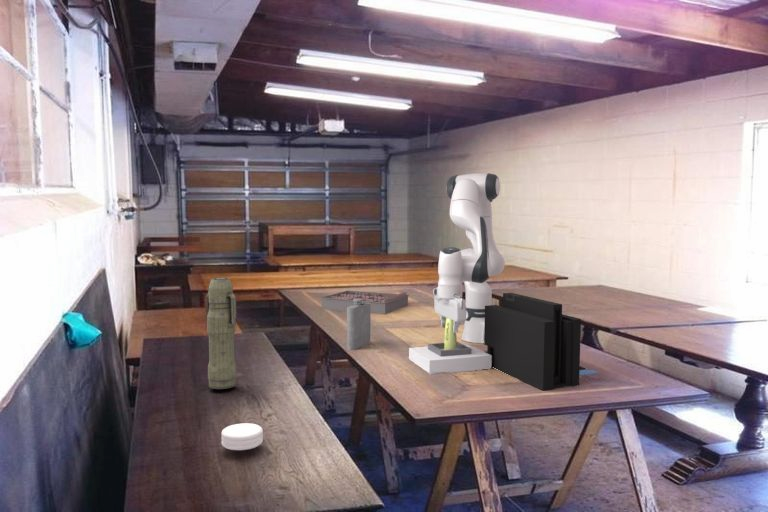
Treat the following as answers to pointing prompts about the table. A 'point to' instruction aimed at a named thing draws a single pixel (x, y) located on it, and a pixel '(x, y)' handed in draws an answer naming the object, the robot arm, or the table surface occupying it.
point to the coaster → (242, 436)
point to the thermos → (221, 333)
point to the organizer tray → (365, 301)
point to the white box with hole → (449, 358)
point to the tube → (449, 336)
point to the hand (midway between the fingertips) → (449, 329)
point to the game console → (534, 342)
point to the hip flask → (358, 325)
